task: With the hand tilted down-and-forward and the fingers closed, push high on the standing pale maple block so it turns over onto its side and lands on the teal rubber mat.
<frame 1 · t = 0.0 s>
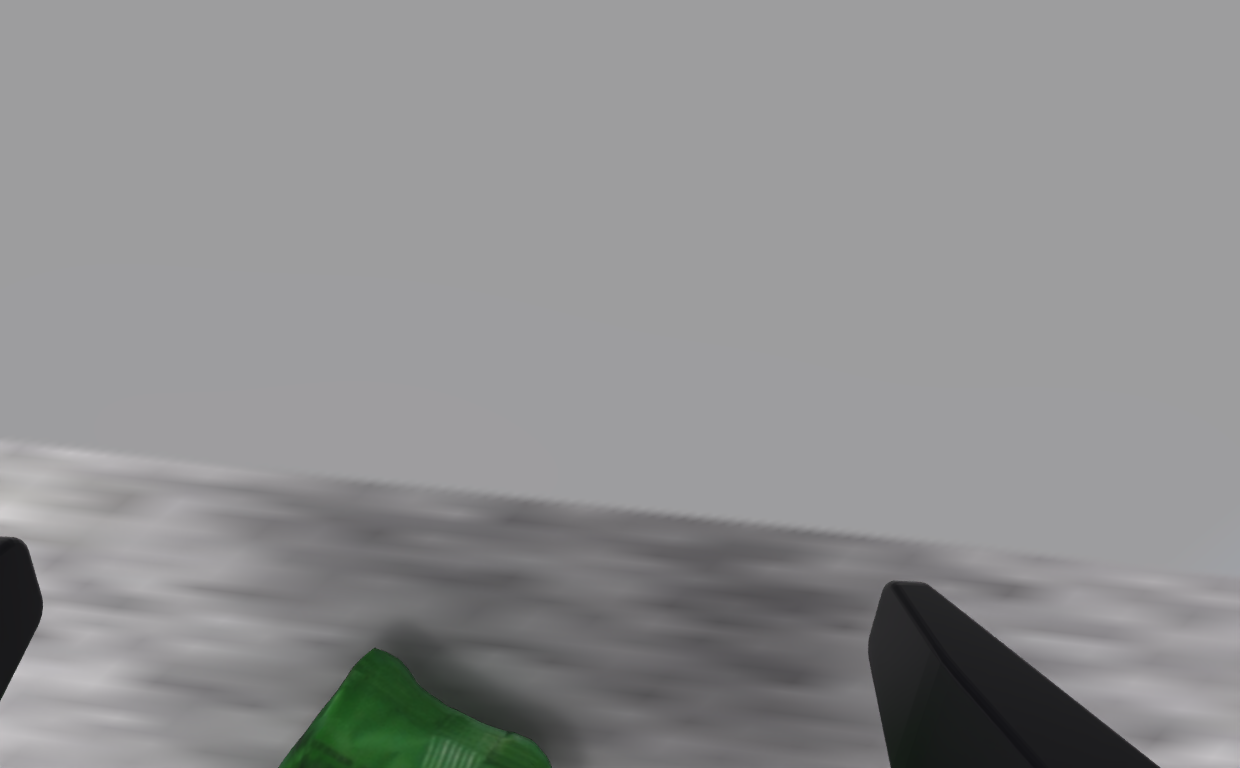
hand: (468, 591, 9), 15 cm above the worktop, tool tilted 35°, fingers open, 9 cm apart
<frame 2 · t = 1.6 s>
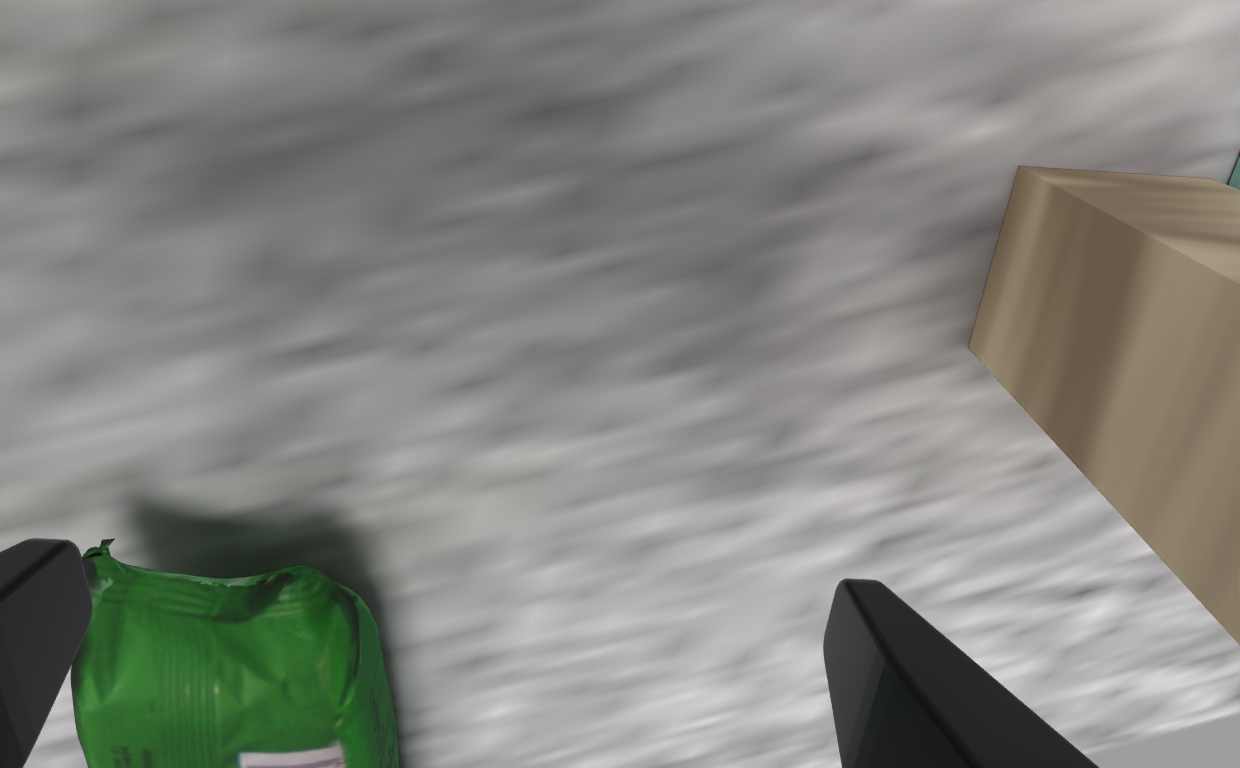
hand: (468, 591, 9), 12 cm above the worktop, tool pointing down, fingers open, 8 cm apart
snack package: (296, 695, 27), on the worktop
maple block: (1084, 266, 21), on the worktop
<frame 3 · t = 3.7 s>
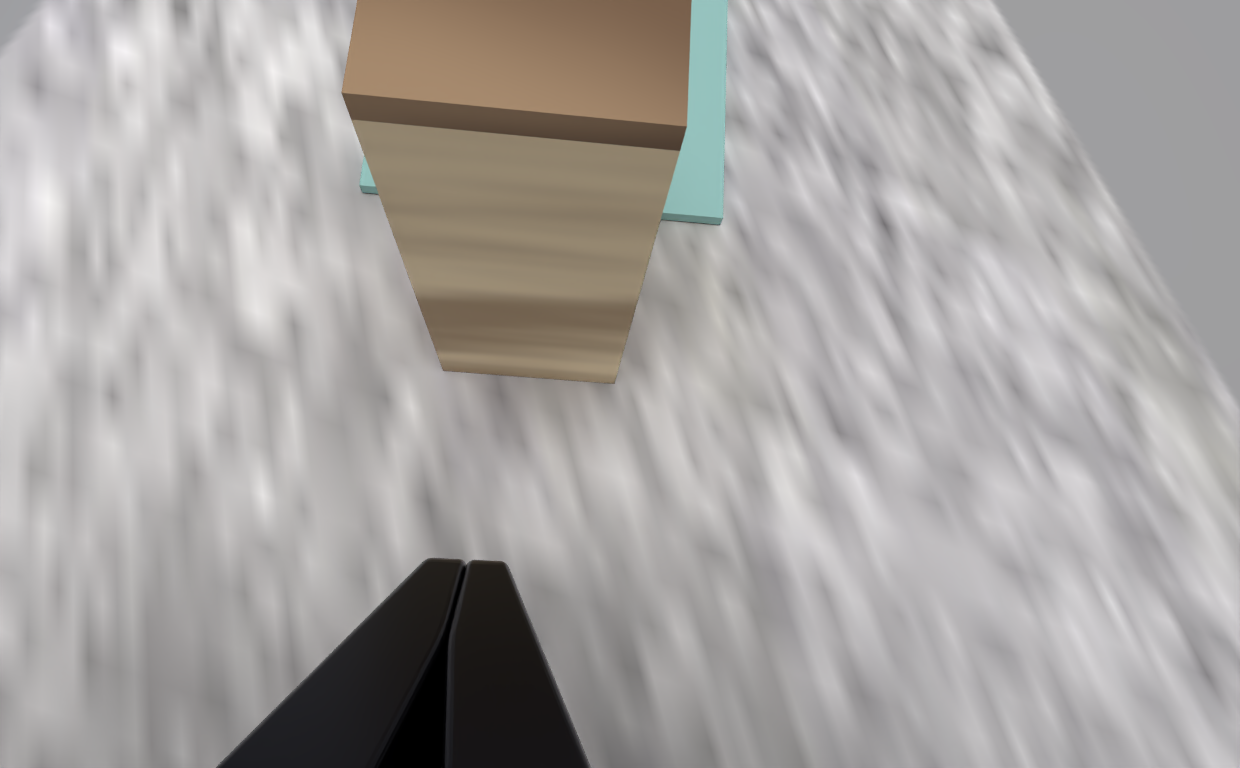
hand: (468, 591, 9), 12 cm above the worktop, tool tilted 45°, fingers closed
maple block: (536, 298, 23), on the worktop
rubber mat: (559, 29, 26), on the worktop
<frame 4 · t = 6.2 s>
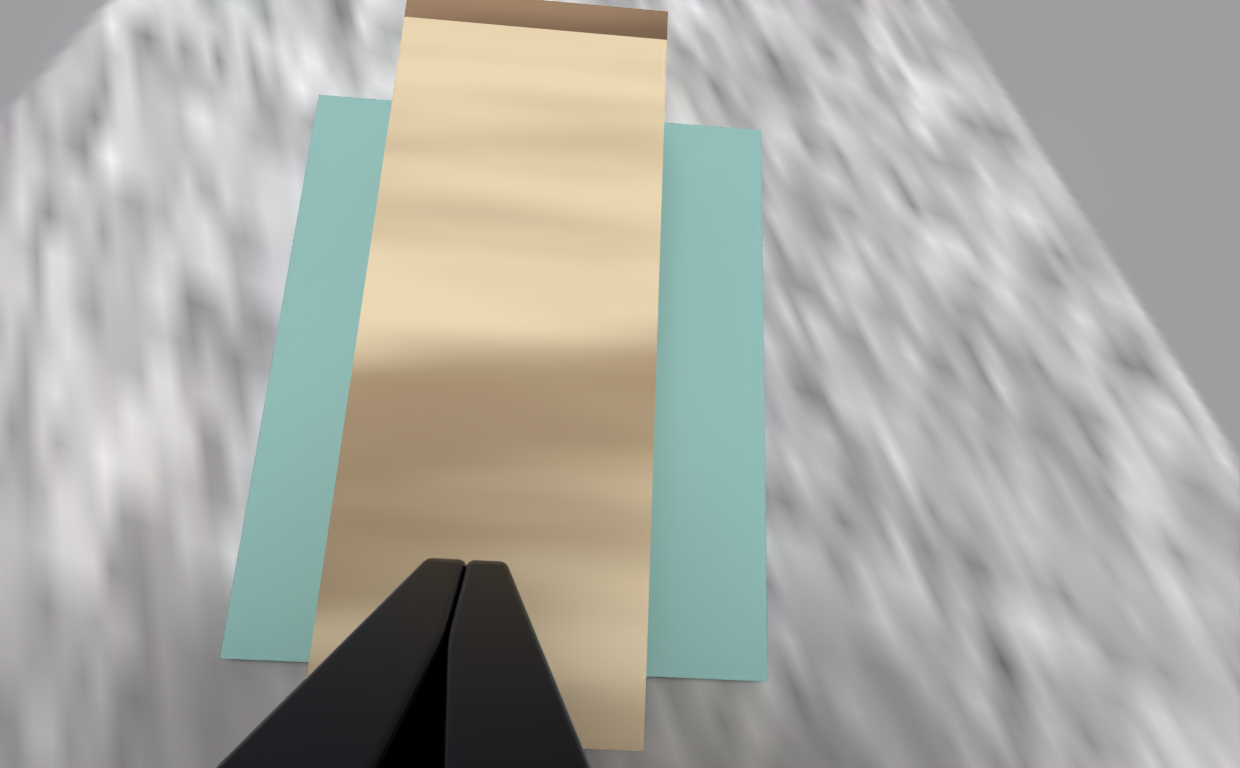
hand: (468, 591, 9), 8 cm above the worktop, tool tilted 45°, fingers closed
maple block: (485, 731, 13), point 3 cm above the worktop, tilted 90°, touching rubber mat
rubber mat: (524, 368, 18), on the worktop
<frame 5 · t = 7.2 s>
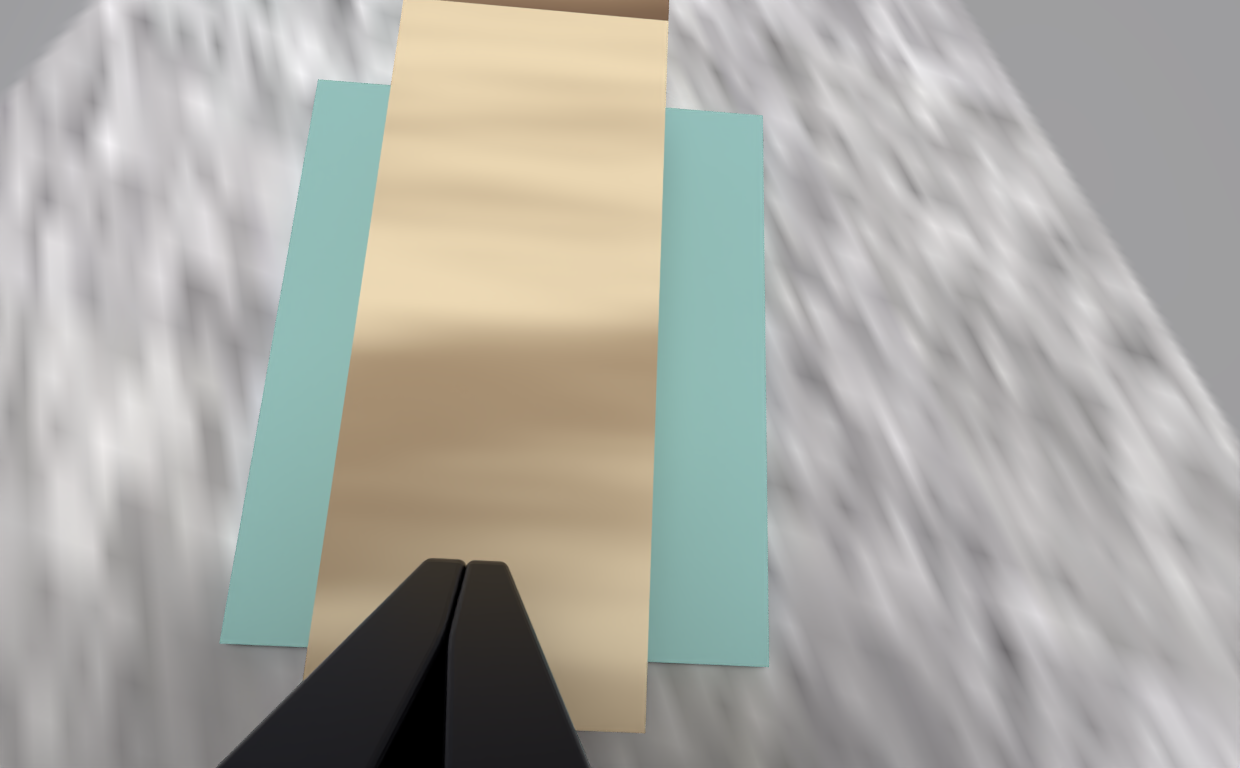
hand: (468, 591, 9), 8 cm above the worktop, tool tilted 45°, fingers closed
maple block: (485, 715, 13), point 3 cm above the worktop, tilted 90°, touching rubber mat
rubber mat: (524, 354, 18), on the worktop
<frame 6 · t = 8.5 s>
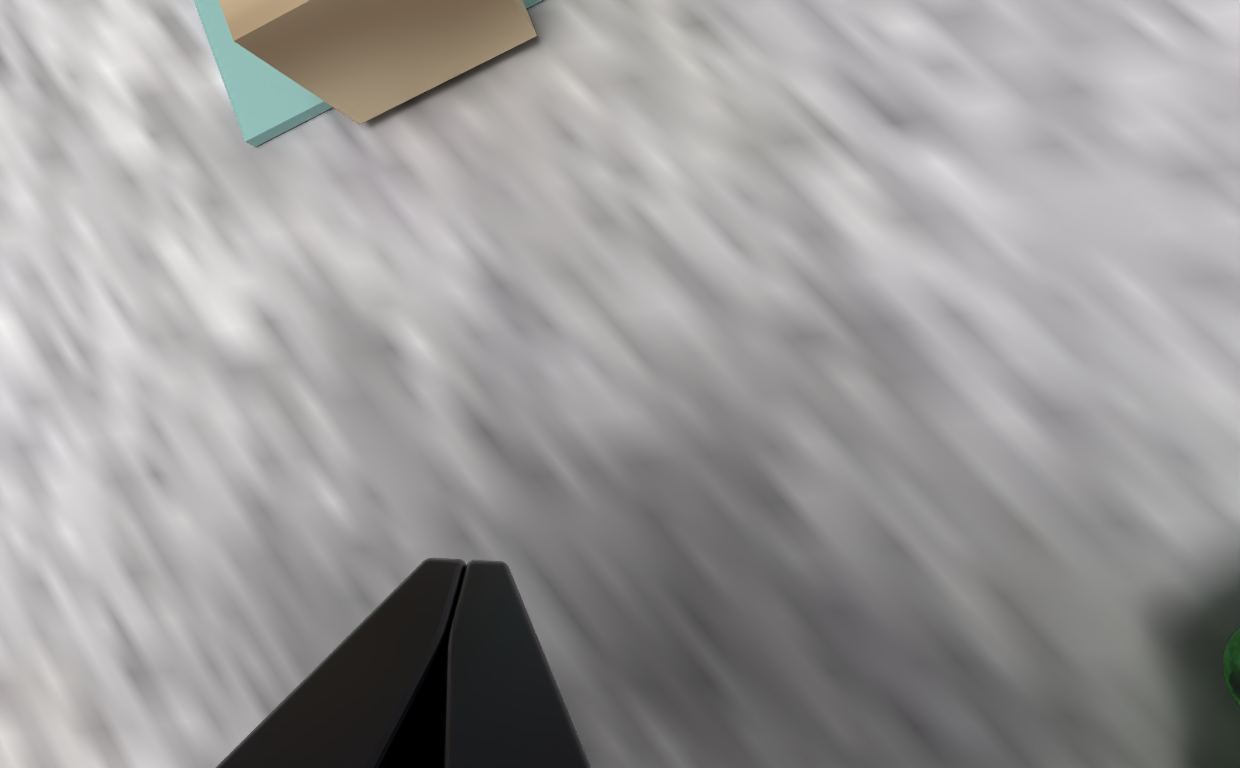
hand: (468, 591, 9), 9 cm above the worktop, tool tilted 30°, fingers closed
maple block: (401, 38, 17), point 3 cm above the worktop, tilted 90°, touching rubber mat
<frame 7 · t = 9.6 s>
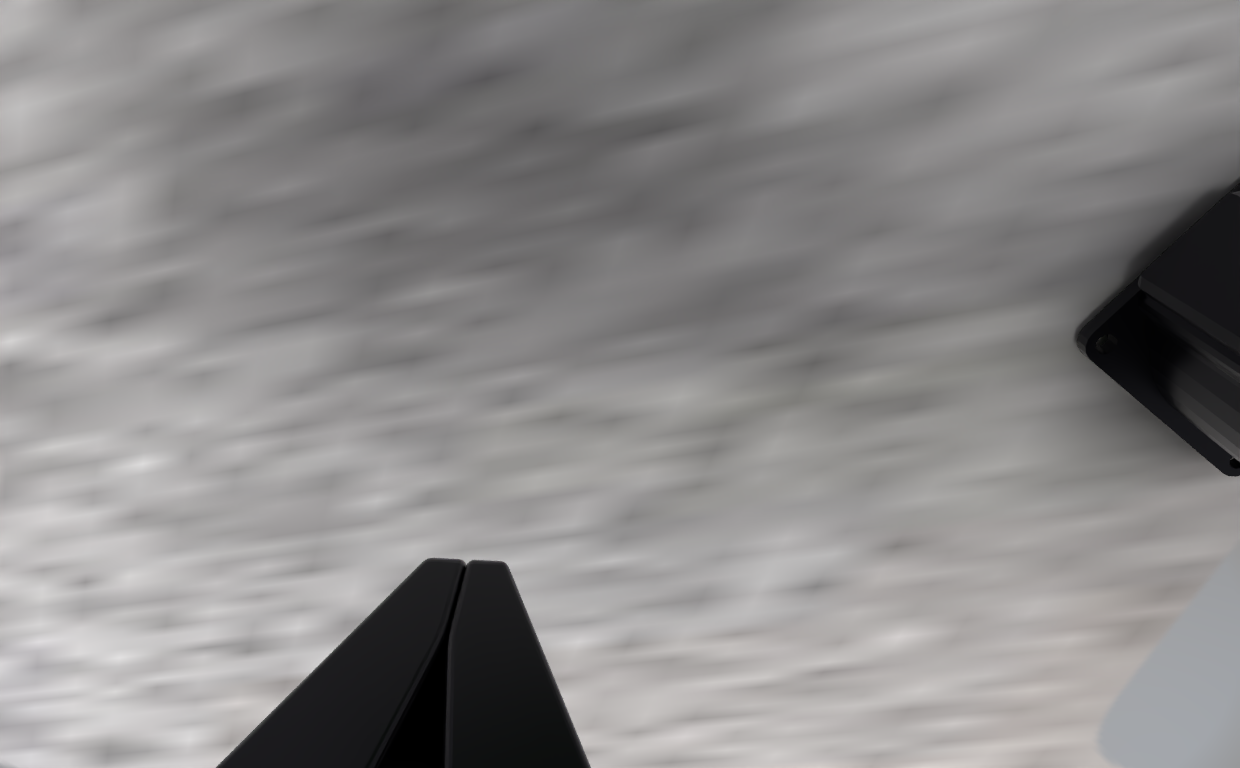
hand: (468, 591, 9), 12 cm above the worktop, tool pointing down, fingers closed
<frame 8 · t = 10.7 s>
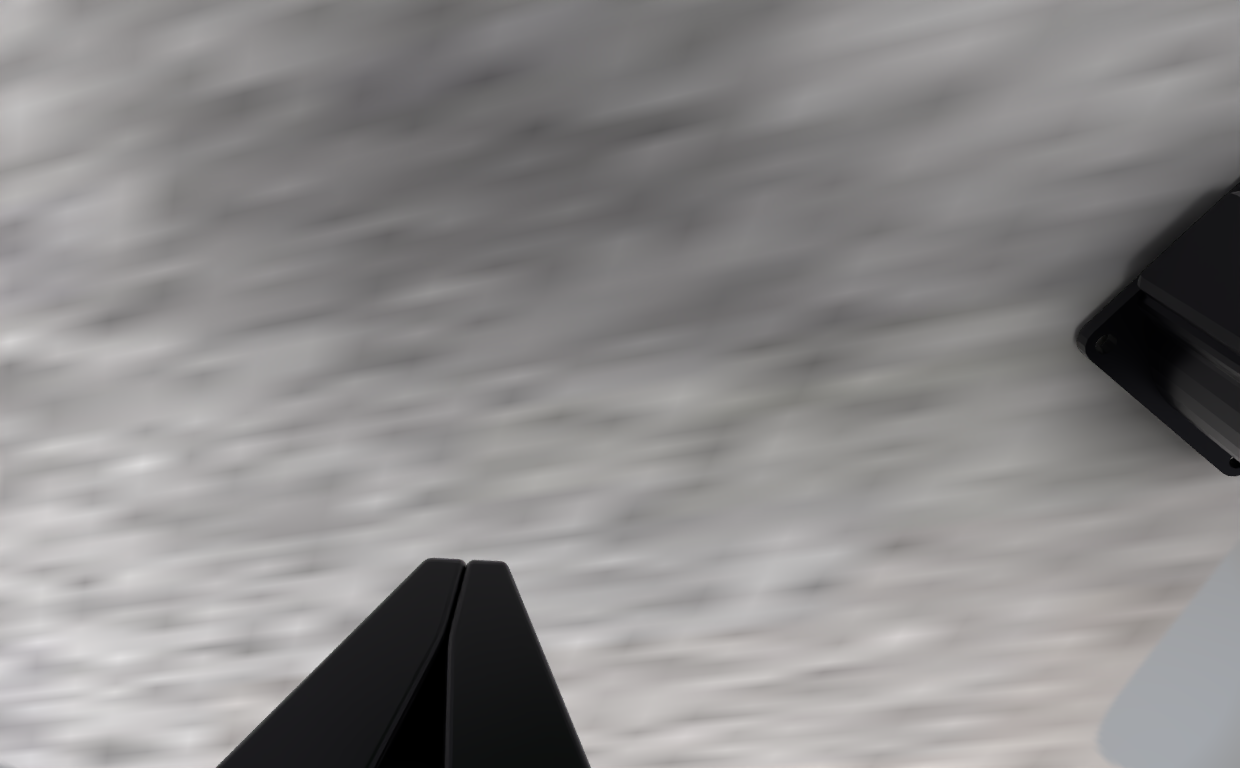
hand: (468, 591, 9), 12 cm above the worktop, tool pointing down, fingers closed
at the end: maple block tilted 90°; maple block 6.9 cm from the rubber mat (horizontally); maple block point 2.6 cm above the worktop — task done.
